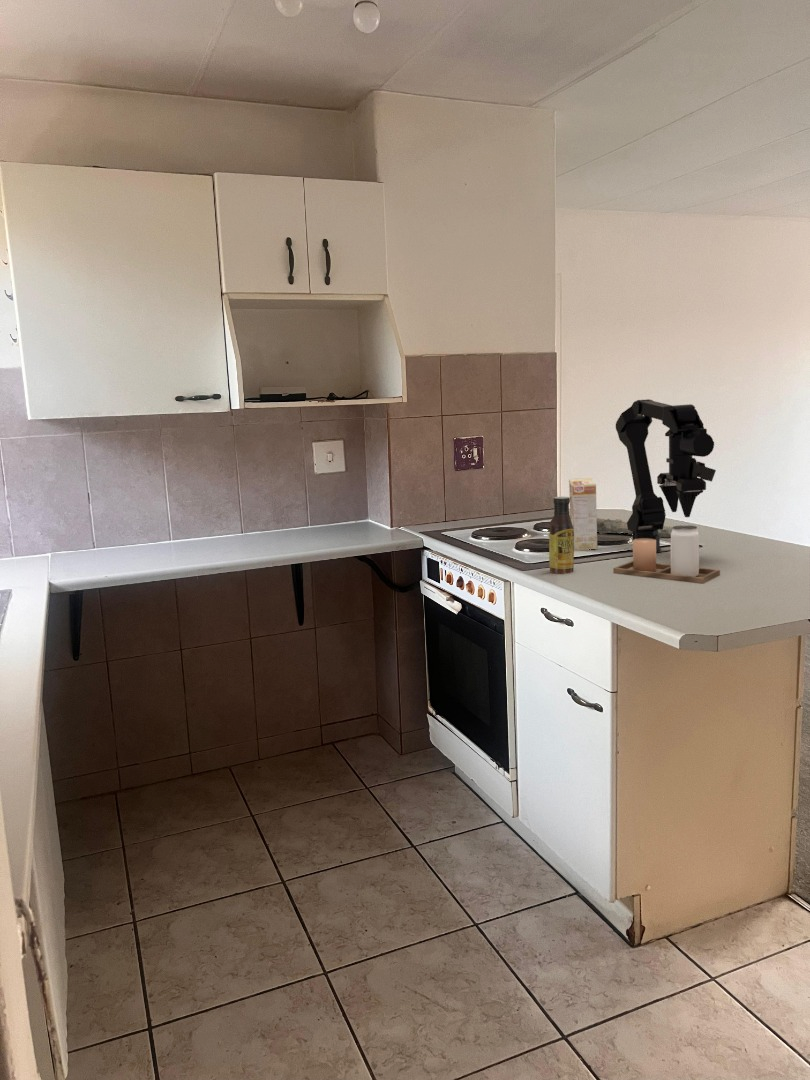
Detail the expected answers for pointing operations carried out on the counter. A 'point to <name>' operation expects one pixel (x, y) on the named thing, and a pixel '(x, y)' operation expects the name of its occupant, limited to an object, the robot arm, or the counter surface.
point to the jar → (644, 554)
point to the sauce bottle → (561, 538)
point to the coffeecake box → (583, 513)
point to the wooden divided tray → (667, 573)
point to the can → (685, 550)
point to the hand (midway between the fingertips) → (680, 514)
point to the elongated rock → (625, 527)
